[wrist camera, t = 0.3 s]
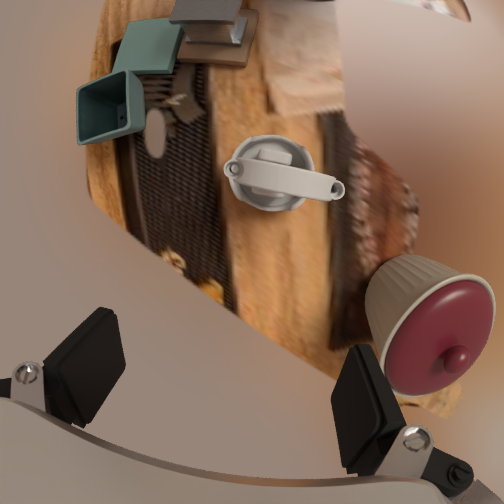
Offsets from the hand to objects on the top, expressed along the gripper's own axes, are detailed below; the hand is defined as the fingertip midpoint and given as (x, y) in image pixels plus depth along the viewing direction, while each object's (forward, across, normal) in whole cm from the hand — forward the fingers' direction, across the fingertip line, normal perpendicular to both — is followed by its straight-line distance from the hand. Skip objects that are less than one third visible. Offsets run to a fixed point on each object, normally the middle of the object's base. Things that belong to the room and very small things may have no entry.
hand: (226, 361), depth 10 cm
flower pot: (+31, +22, -14) cm, 40 cm away
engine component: (+31, -1, -6) cm, 31 cm away
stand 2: (+30, +9, -27) cm, 42 cm away
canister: (+31, -24, +9) cm, 40 cm away
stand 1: (+30, +20, -26) cm, 45 cm away
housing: (+28, +9, -27) cm, 40 cm away
